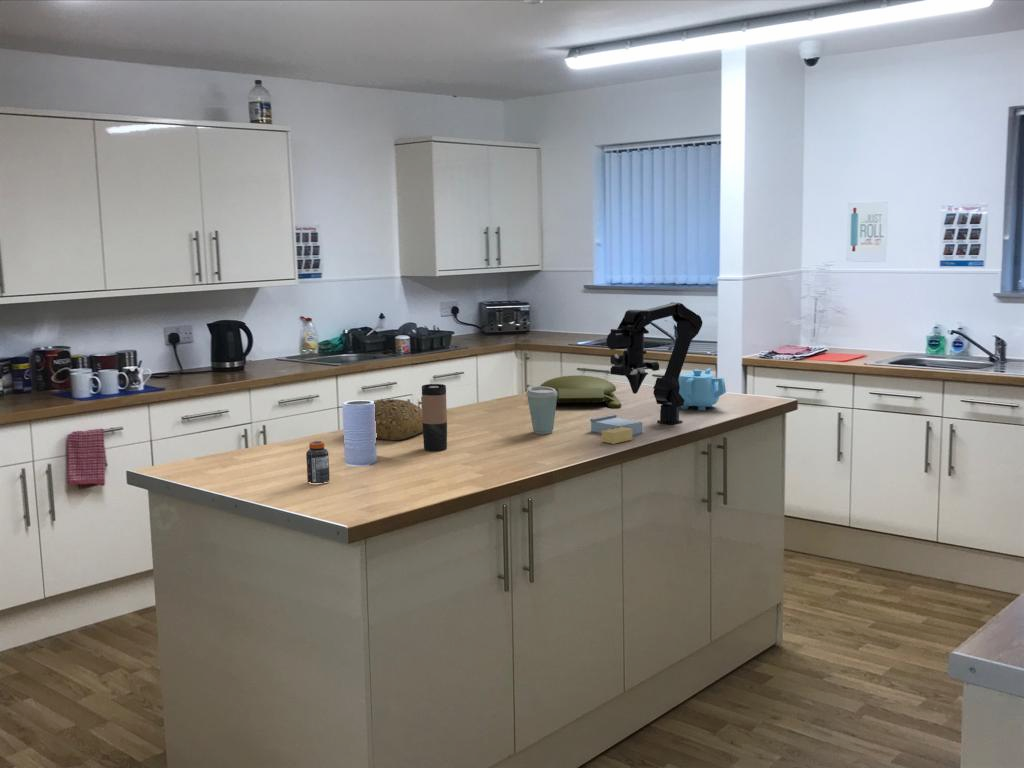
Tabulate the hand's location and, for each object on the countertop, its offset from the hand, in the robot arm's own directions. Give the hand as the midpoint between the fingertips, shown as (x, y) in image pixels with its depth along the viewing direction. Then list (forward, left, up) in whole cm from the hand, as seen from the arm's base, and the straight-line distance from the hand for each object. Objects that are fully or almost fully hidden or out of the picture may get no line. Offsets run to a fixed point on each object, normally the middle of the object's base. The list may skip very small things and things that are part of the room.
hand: (634, 393), depth 338 cm
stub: (+19, +10, -12) cm, 25 cm away
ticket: (+9, 0, -12) cm, 15 cm away
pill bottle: (+116, -11, -12) cm, 117 cm away
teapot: (-47, -10, -12) cm, 50 cm away
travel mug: (+68, -22, -12) cm, 73 cm away
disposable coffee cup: (+27, -17, -12) cm, 34 cm away
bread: (+65, -51, -12) cm, 84 cm away
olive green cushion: (-24, -52, -13) cm, 58 cm away
